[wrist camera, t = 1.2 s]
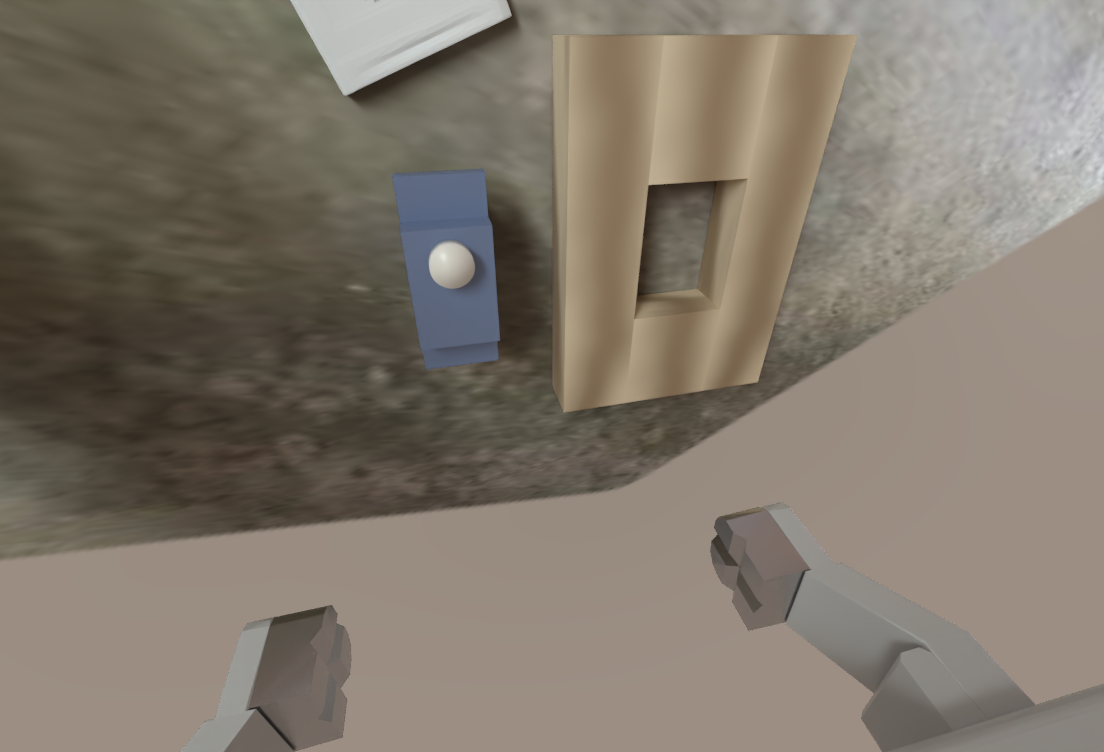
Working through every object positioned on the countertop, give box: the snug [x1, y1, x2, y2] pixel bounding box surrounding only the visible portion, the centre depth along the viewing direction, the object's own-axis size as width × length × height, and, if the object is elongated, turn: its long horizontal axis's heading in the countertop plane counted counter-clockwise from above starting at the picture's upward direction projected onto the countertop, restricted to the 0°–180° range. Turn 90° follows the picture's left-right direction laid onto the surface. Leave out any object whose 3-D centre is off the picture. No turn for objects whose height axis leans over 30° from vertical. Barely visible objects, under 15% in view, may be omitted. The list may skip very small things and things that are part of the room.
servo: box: [392, 169, 500, 369], centre depth 25 cm, size 4×10×6 cm, turn 0°
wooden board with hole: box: [553, 35, 857, 412], centre depth 29 cm, size 14×20×3 cm
